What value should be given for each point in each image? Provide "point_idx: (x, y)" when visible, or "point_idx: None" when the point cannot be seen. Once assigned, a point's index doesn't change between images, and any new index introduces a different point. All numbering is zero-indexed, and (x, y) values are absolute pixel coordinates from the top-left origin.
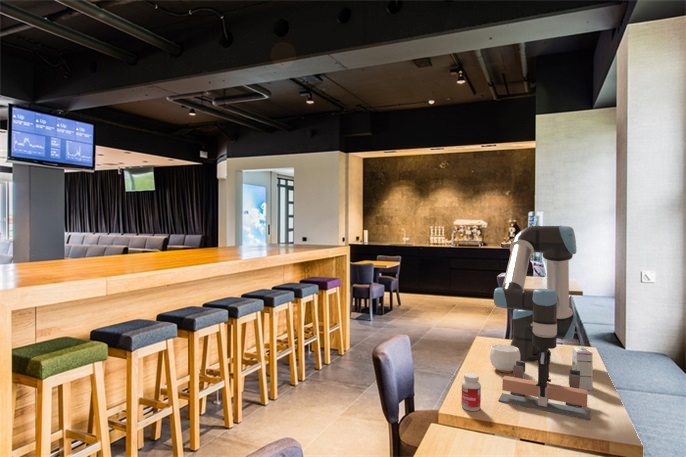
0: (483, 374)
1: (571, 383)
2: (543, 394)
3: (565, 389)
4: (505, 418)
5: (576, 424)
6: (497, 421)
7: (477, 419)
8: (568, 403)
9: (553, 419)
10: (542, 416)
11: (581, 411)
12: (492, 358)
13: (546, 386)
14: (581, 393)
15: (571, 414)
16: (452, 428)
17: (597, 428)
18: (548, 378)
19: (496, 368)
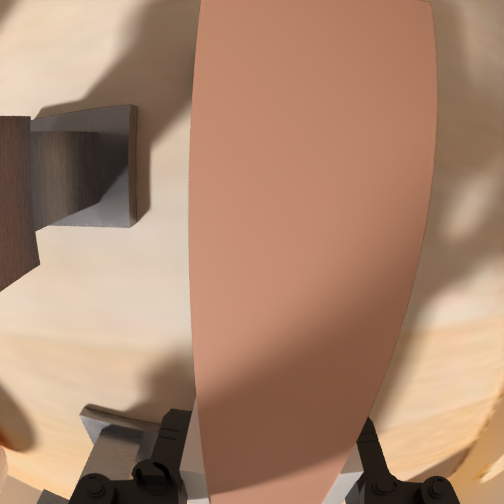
0: (60, 482)
1: (17, 237)
2: (372, 436)
3: (365, 328)
4: (452, 434)
5: (469, 167)
6: (471, 438)
7: (458, 467)
8: (130, 205)
9: (443, 293)
10: (418, 345)
11: None
12: (2, 487)
13: (441, 482)
14: (433, 80)
15: None
16: (495, 466)
17: (465, 56)
18: (141, 493)
19: (5, 455)
